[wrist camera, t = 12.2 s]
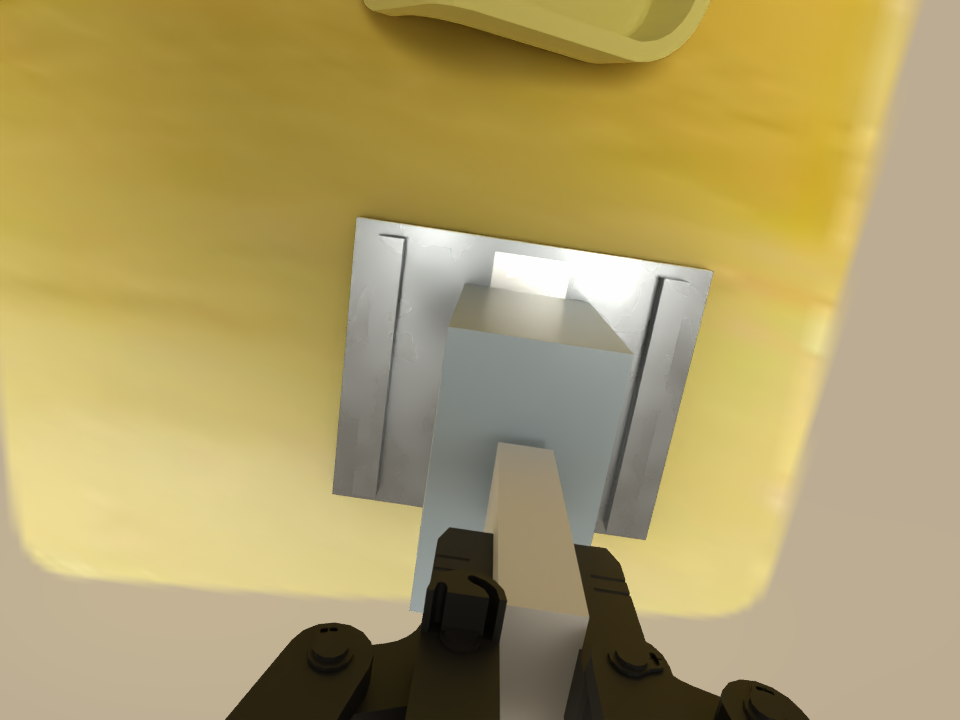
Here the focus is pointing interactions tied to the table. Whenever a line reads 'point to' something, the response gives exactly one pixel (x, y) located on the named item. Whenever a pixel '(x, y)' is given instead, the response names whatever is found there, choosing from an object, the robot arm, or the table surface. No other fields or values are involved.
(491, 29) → the plastic component
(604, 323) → the block
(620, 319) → the rail mount
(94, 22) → the table surface
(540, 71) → the table surface
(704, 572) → the table surface
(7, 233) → the table surface
